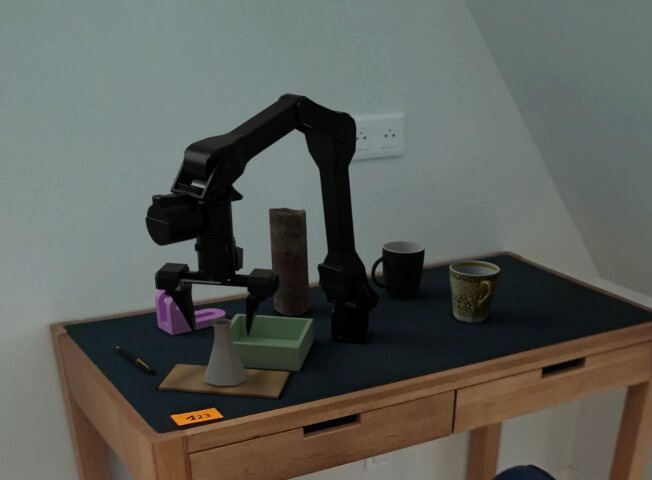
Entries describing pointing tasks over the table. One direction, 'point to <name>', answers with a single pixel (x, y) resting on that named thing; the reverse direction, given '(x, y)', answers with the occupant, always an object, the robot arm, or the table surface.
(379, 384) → the table surface
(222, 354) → the flask
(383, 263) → the mug
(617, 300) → the table surface
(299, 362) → the bin
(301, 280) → the brown tall block
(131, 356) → the fountain pen
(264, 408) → the table surface
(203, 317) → the bracket
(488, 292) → the ceramic cup
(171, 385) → the cork mat
